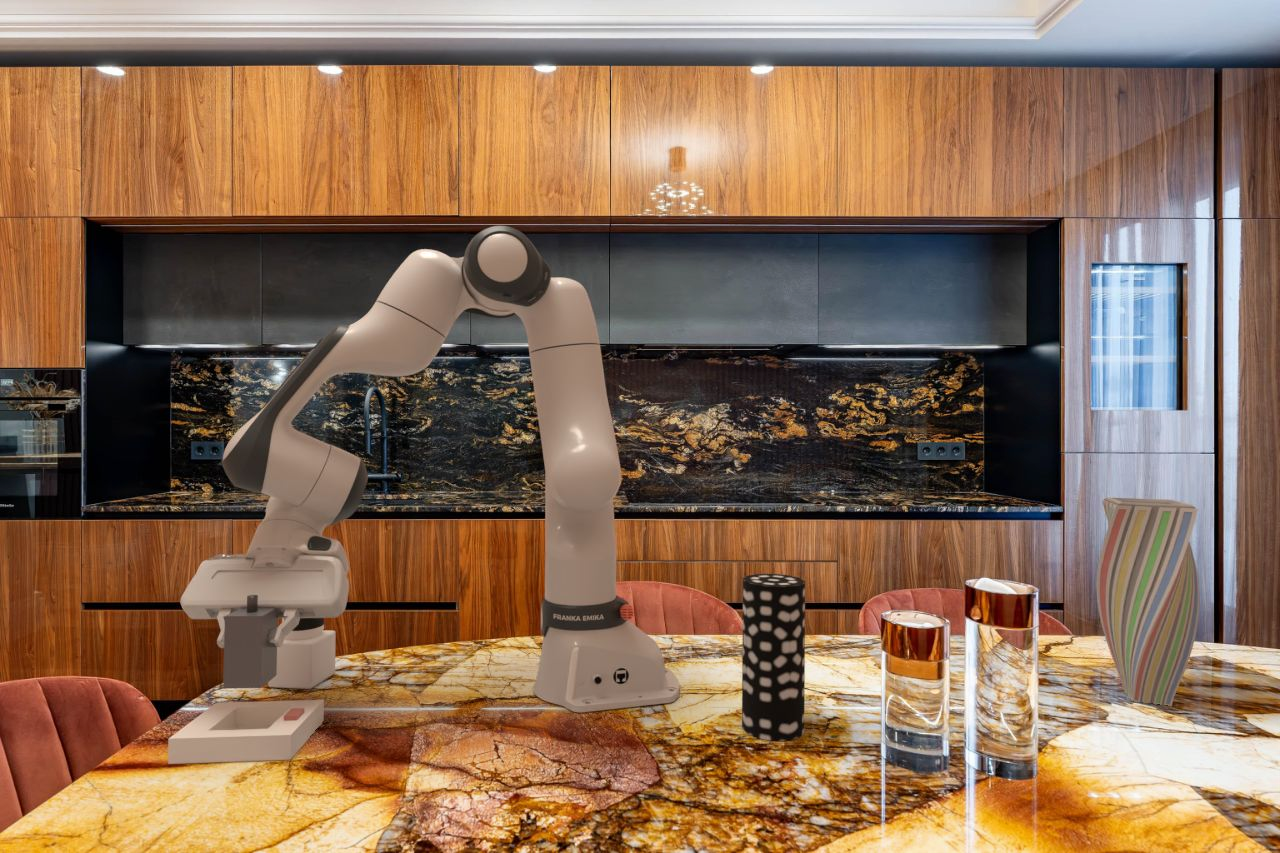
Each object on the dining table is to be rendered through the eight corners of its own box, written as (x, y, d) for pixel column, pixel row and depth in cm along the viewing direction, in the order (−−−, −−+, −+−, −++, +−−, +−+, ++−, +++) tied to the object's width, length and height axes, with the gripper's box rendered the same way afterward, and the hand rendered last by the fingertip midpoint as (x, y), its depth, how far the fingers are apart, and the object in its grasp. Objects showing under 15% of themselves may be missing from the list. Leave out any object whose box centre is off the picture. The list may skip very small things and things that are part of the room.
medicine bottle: (336, 673, 113) (336, 600, 113) (311, 689, 106) (311, 611, 106) (294, 671, 114) (295, 599, 114) (267, 687, 107) (268, 610, 107)
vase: (1105, 707, 101) (1105, 503, 102) (1085, 677, 114) (1085, 495, 114) (1219, 722, 96) (1219, 507, 97) (1185, 689, 109) (1185, 499, 109)
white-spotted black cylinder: (809, 721, 96) (810, 577, 96) (797, 746, 88) (797, 589, 88) (751, 711, 99) (752, 571, 99) (734, 733, 92) (735, 582, 92)
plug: (276, 675, 91) (278, 591, 91) (261, 687, 86) (262, 599, 87) (240, 675, 90) (242, 591, 91) (223, 688, 86) (225, 600, 86)
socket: (323, 721, 94) (323, 695, 95) (290, 759, 84) (290, 729, 84) (216, 725, 93) (216, 698, 93) (168, 764, 82) (168, 733, 82)
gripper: (197, 541, 95) (151, 633, 85) (351, 541, 96) (325, 631, 87) (213, 567, 99) (172, 658, 89) (360, 567, 101) (336, 656, 91)
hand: (249, 645), depth 88 cm, fingers closed on plug, 4 cm apart
